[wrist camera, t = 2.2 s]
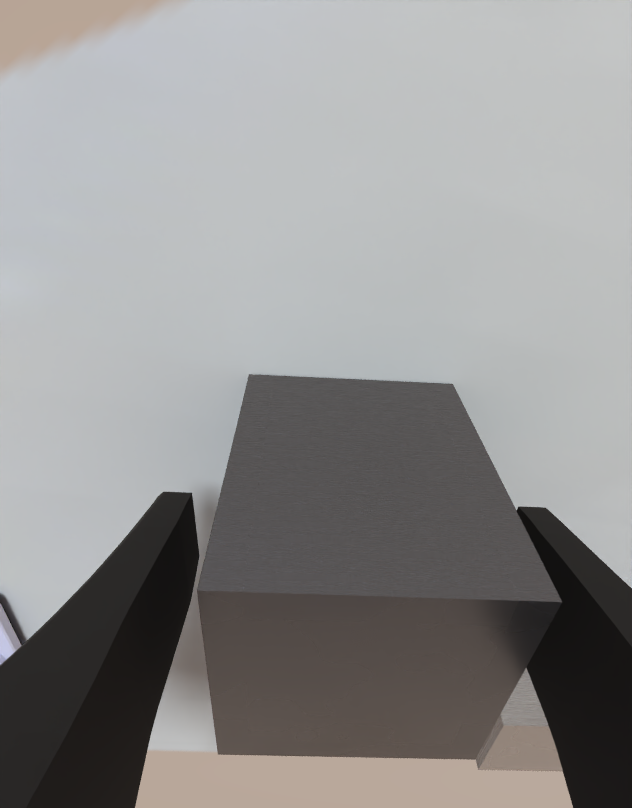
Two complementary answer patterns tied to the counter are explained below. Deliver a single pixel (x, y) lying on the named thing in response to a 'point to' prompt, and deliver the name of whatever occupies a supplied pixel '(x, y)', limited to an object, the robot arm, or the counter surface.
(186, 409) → the counter surface
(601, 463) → the counter surface
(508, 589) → the brushed dark grey cube
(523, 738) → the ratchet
